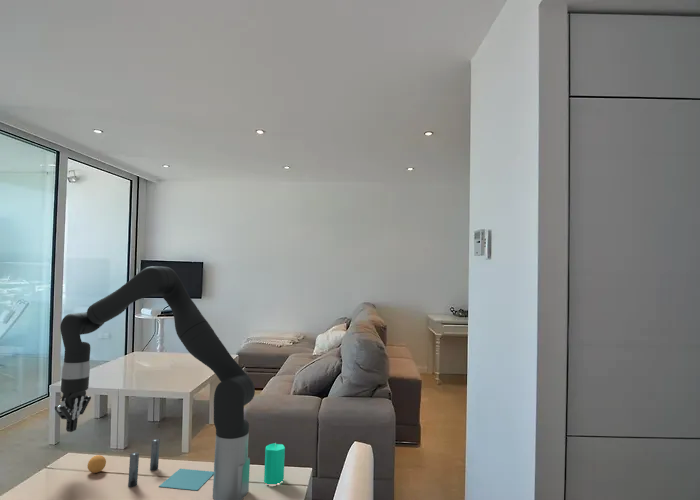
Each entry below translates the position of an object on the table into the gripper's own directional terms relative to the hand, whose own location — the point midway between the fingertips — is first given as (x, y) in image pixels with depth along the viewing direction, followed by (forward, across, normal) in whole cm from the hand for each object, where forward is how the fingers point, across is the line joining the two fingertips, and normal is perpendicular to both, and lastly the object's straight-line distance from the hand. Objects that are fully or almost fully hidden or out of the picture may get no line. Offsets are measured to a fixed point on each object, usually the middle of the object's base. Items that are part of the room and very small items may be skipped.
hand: (71, 430), depth 136 cm
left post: (+12, -6, -26) cm, 29 cm away
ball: (+9, 0, -10) cm, 13 cm away
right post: (+12, +5, -26) cm, 29 cm away
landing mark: (+12, +1, -40) cm, 41 cm away
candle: (+12, +4, -66) cm, 67 cm away
